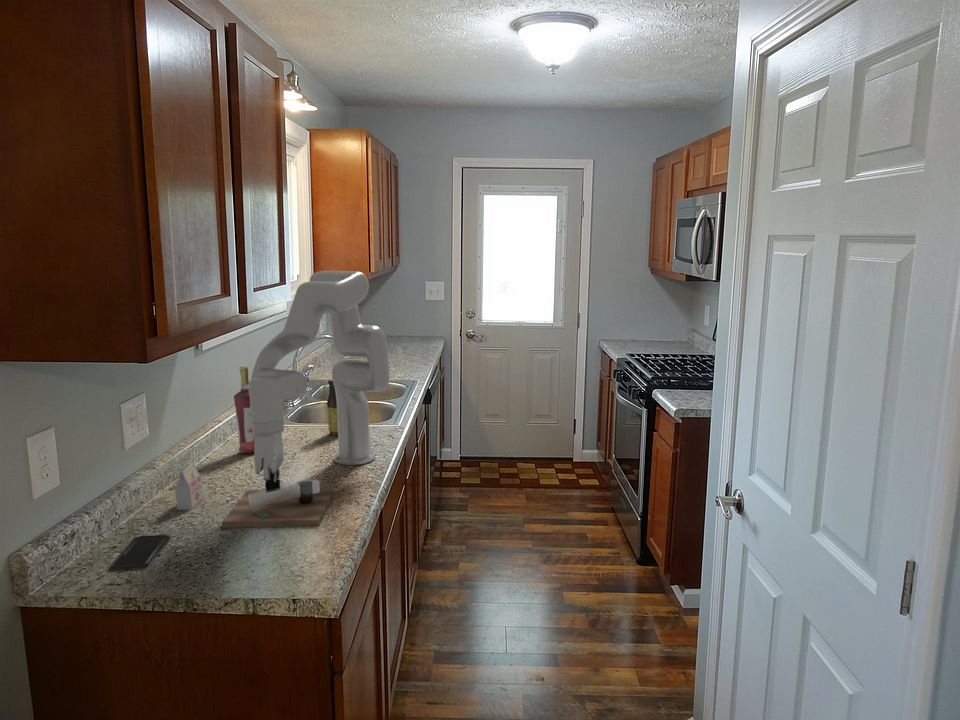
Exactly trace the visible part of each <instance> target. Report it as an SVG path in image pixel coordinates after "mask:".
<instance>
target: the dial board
mask: <svg viewBox="0 0 960 720" xmlns="http://www.w3.org/2000/svg"><path fill="white" fill-rule="evenodd" d="M246 490H247V491H245V492H244V494H243V495H242V497H241V498H240V499H239V500H238V501H237V503H236V504H235V505H234V506H233V508H232V509H231V510H230V511H229V512H228V513H227V515H226V516H225V517H224V519H223V520H222V521H221V526H222V527H221V528H223V529H224V528H226V529H227V528H228V529H229V528H230V529H231V528H232V529H233V528H268V527H269V528H273V527H277V528H279V527H311V526H316V527H317V526H320V525H321V523H322V521H323V518H324V516H325V514H326V512H327V510H328V508H329V505H330V503H331V501H332V499H333V497H334V496H335V495H334V494H335V487H320V493H315V494H313V501H311V502H309V503H300V502H299V498H298V497H297V498H293V499H288V500H284V501H279V502H275V503H270V504H266V505H262V506H257V507H253V508H251V507H250V506H249V496H248V494H252V493H256V492H261V491H266V488H263V489H260V488H259V489H246Z"/></svg>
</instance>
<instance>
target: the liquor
mask: <svg viewBox="0 0 960 720" xmlns="http://www.w3.org/2000/svg"><path fill="white" fill-rule="evenodd" d="M249 371H250V370H249V366H245V365H244V366H240V367H239V373H240V391H238V392H237V393H236V394H235V395H234V396H233V400H234V409H235V416H236V424H237V434H238V441H239V442H238V445H239V448H238V451H239V452H240V453H242V454H243V455H253V454H254V455H255V453H254V444H255V435H254V434H253V431H252V418H251V407H250V396H249V382H250V379H249V374H250V373H249Z"/></svg>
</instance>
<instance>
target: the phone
mask: <svg viewBox="0 0 960 720" xmlns="http://www.w3.org/2000/svg"><path fill="white" fill-rule="evenodd" d="M170 540H171V537H170V535H169V534H159V535H158V534H157V535H156V534H155V535H139V536H136V537H133V539H132V540H131V541H130V542H129V544H128V545H127V546H126V547H125V548H124V549H123V550H122V551H121V552H120V553H119V554H118V556H117V557H116V558H115V559H114V560H113V562H112V563H111V564H110V566H109V567H110V570H111V571H126V570H142V569H147V568H149V567H150V566H151V565H152V563H153V562H154V561H155V559H156V558H157V557H156V556H157V555H159V554H160V553H161V551H162V550H163V549H164V548H165V546H166V545H167V544H168V543H169V541H170ZM166 543H167V544H166ZM163 547H164V548H163Z"/></svg>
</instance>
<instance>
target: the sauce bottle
mask: <svg viewBox="0 0 960 720" xmlns="http://www.w3.org/2000/svg"><path fill="white" fill-rule="evenodd" d="M328 388H329V389H328V390H329V393H328V397H327V401H326V409H327V423H328V424H327V425H328V431H329V434H330V435H331V436H335V437H338V419H337V400H336V392H335V387H334V383H333V379H332V378H329V379H328Z"/></svg>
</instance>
